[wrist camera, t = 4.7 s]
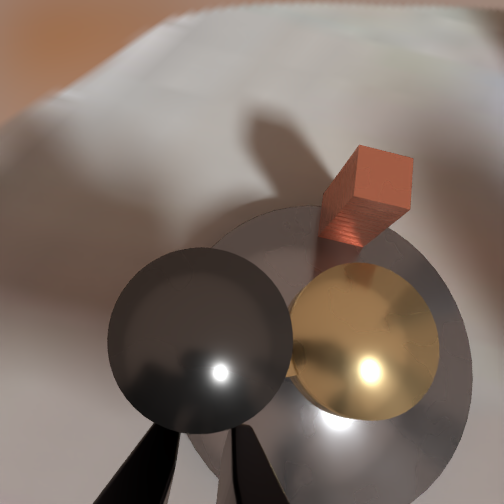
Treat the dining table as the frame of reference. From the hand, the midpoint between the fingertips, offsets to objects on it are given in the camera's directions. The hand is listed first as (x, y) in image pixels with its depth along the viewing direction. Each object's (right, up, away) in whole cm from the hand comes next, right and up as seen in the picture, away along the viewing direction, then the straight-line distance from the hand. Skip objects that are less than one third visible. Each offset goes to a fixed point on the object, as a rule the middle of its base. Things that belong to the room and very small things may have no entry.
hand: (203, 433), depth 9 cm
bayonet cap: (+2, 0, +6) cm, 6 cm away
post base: (+4, 0, +9) cm, 10 cm away
